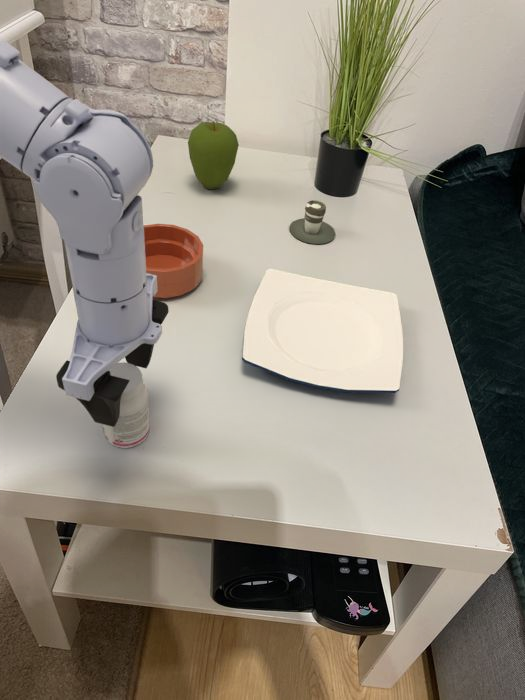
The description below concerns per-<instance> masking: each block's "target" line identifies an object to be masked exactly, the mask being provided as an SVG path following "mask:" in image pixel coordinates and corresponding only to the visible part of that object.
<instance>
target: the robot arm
mask: <svg viewBox="0 0 525 700" xmlns="http://www.w3.org/2000/svg"><path fill="white" fill-rule="evenodd" d="M20 56H21V52H20V51H19V50H18V49H17V48H16V47H14V46H13V45H11V44H10V43H9V42H7V40H5V39H4V38H1V39H0V158H2V159H3V160H4V161H6V162H7V163H8V164H10V165H12V166H13V167H14V168H16V169H17V170H19V171H20V172H21V173H22V174H25V175H26V176H27V177H29V178H30V179H31V180H33V181H32V186H33V189H34V191H35V194H36V196H37V198H38V200H39V202H40V203H41V204H42V206H43V207H44V209H45V210H46V211H47V212H48V213H49V214H50V215H51V217H53V219H54V220H55V222H56V225H57V227H58V233H59V237H60V239H61V240H63V242H64V247H65V253H66V258H67V264H68V269H69V276H70V281H71V287H72V292H73V298H74V303H75V308H76V313H77V322H76V327H75V333H74V338H73V344H72V349H71V355H70V359H69V360H68V359H67V360H66V361H65V362H64V363H63V365H61V367H60V369H59V370H58V372H57V373H56V375H55V379H56V383H57V386H58V388H59V389H61V390H62V391H64V394H65V396H68V397H72V398H74V399H76V400H77V401H78V402H79V403H80V404H81V405H82V406H83V407H84V409H85V410H86V411H87V413H88V414H89V415H90V417H91V419H92V420H93V422H94V423H97V424H101V425H102V424H104V425H108V426H112V427H114V426H115V425H116V423H117V421H118V419H119V415H120V400H121V396H122V393H123V392H124V390H125V388H126V386H127V385H128V383H129V381H130V380H127V379H123V378H119V377H115V376H111V374H110V371H108V370H109V369H110V368H111V367H113V366H114V365H115V364H117V363H120V362H121V361H122V360H123V359H125V361H126V363H130V364H133V365H135V366H136V367H138V368H142V369H148V367H149V365H150V362H151V360H152V355H153V351H154V347H155V345H156V344H157V343H158V341H159V339H160V338H161V336H162V335H163V325H162V324H163V323H164V321H165V319H166V317H167V316H168V314H169V311H170V310H169V305H168V304H167V303H166V302H164V301H160V300H157V299H154V298H155V297H154V296H155V294H156V293H157V276H156V275H152V274H148V273H146V257H145V239H144V227H143V226H144V211H143V210H144V209H143V198H142V196H141V195H139V194H140V192H141V191H142V190H143V189H144V188H145V186H146V185H147V183H148V181H149V179H150V177H151V176H152V173H153V169H154V157H153V152H152V149H151V146H150V144H149V142H148V139H147V138H146V137H145V135H144V134H143V133H142V131H141V130H140V128H138V127H137V126H136V125H135V124H133V122H132V121H131V120H130V119H129V117H127V115H126V114H123V113H122V112H119V111H116V110H112V109H106V108H104V109H103V108H101V109H100V108H99V109H97V108H96V109H94V108H92V107H90V106H89V105H87V104H86V103H83V102H81V100H79V99H78V98H75V99H74V98H72V97H71V96H69V95H67V94H66V93H65V92H63V91H62V90H61V89H59V88H58V87H57V86H56V85H54V84H53V83H51V81H49V80H47V79H46V78H45V77H44V76H42V75H41V74H40V73H38V72H37V71H36V70H34V69H33V68H32V67H30V66H29V65H27V64H26V63H25V62H24V61H22V60H21V59H20Z"/></svg>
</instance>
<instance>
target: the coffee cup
mask: <svg viewBox="0 0 525 700" xmlns="http://www.w3.org/2000/svg"><path fill="white" fill-rule="evenodd" d="M304 210H305V211H304V217H303V218H302V217H301V218H297V219H296V220H294V221H292V222H291V223H290V225H289V227H288V228H289V232H290V234H291V235H292V236H293V237H294V238H295V239H296V240H299V241H300V242H303V243H306V244H308V245H309V244H310V245H324V244H327V243H330V242H332V241H333V240H334V239H335V238H336V231H335V229H334V227H333V226H331V225H330V224H329V223H328V222H325V221H323V220H324V217H325V214H326V212H327V205H326V204H325V203H324V202H322V201H321V200H315V199H312V200H308V201H307V202H306V204H305V207H304Z"/></svg>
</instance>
